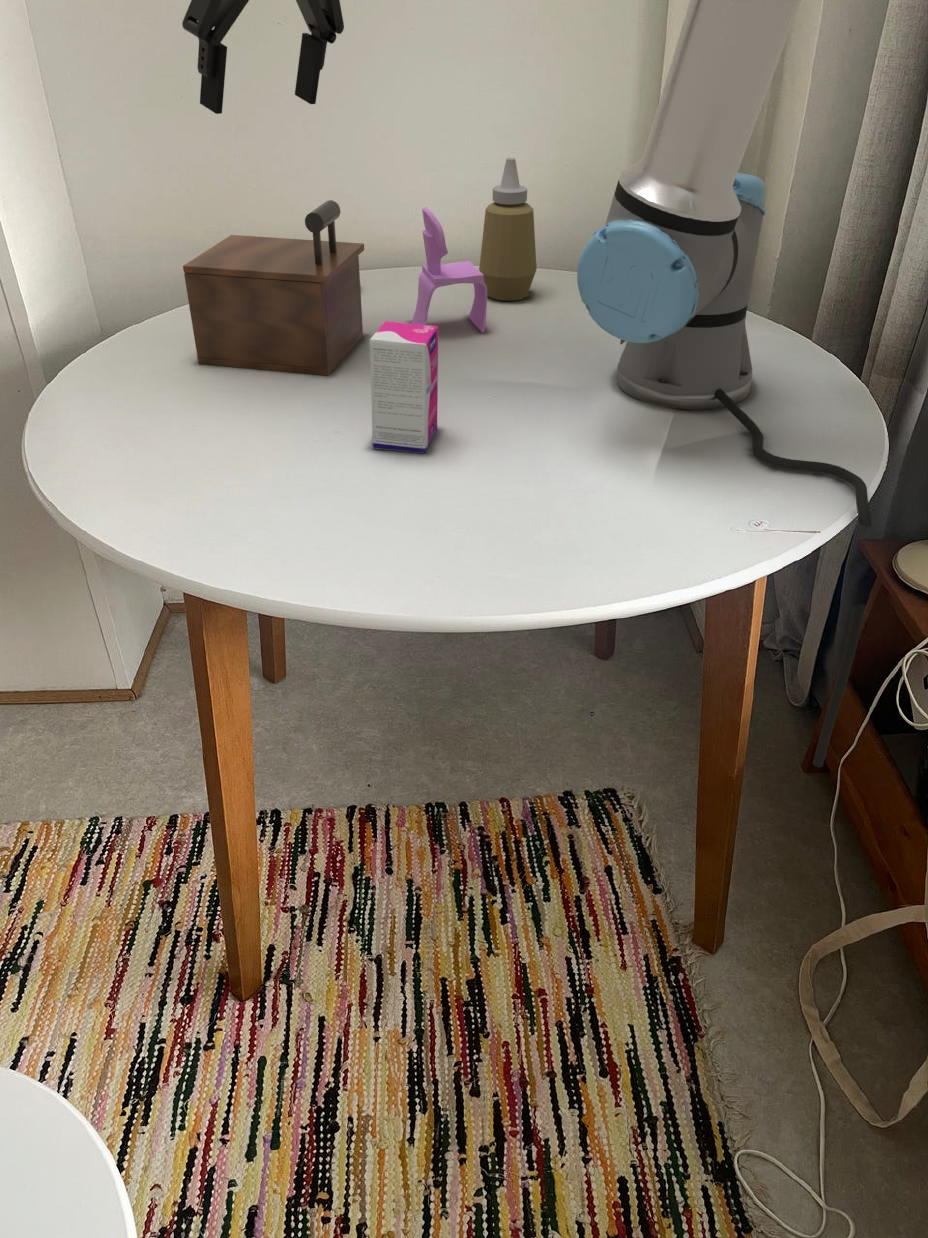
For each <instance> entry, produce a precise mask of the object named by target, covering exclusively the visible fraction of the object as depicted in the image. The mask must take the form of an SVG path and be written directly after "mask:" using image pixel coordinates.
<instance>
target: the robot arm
mask: <svg viewBox="0 0 928 1238" xmlns="http://www.w3.org/2000/svg"><path fill="white" fill-rule="evenodd" d="M801 1H802V0H689V2H688V6H687V9H686V13H685V16H684V20H683V21H682V22H683V23H682V26H681V29H680V31H679V36H678V39H677V42H676V45H675V48H674V52H673V56H672V59H671V61H670V65H669V69H668V72H667V76H666V78H665V82H664V84H663V88H662V92H661V95H660V97H659V102H658V105H657V108H656V112H655V114H654V118H653V121H652V125H651V127H650V131H649V134H648V138H647V141H646V144H645V147H644V151H643V154H642V157H641V158H640V159H639V160H638V161H637V162H635V163H634V164H632V165H630V166H628V167H626V168H625V169H623V170H622V171H621V173H620V175H619V177H618V180H617V183H616V186H615V191H614V193H613V197H612V200H611V203H610V207H609V209H608V213H607V217H606V220H605V223H604V225H602V226H601V227H599V228H597V229H596V230H595V231H594V232H593V233H592V235H591V237H590V239H588V240H587V242H586V244H585V245H584V247H583V249H582V251H581V253H580V256H579V258H578V263H577V268H576V281H577V288H578V293H579V296H580V300H581V302H582V303H583V304H584V306H585V308H586V310H587V311H588V315H589V316H590V317H591V319H592V320H593V321H594V323H595V324H596V325H598V326H599V327H600V328H601V329H602V330H603V331H605V332H606V333H608V334H609V335H611V336H612V337H614V338H616V339H618V340H620V342H619V343H620V344H619V345H623V344H624V343H625V346H624V348H623V350H622V353H621V354H620V358H619V360H618V363H617V372H616V382H617V385H618V387H619V388H620V389H621V390H622V391H623V392H625V393H626V394H628V395H629V396H631V397H633V398H635V399H637V400H639V401H641V402H645V403H648V404H650V405H655V406H660V407H664V408H670V409H671V408H672V409H678V410H679V409H680V410H709V409H718V408H723V407H725V408H726V409H727V410H728V411H729V412H730V413H731V415H732V416H733V417H734V418H736V420H737V421H738V422H739V423H740V424H741V425H742V426H743V427H744V428H745V429H746V430H747V431H748V433H749V434H750V435H751V437H752V442H753V444H752V451H753V453H754V455H755V456H756V457H757V458H758V460H760V461H761V462H763V463H765V464H768V465H770V466H773V467H776V468H781V469H786V470H791V471H793V470H794V471H801V472H802V471H803V472H811V473H812V472H813V473H820V474H827V475H831V476H833V477H836V478H838V479H840V480H842V481H844V482H846V483H847V484H848V485H850V486H852V487H853V488H854V492H855V501H856V511H857V516H858V522H859V524H860V525H861V526H863V527H866V528H869V527H871V526H872V518H871V517H872V516H871V512H870V505H869V497H868V496H869V495H868V487H867V485H866V483H865V482H864V480H863V479H862V478H861V477H860V476H858V475H857V474H855V473H854V472H852V471H850V470H848V469H846V468H844V467H841V466H838V465H835V464H832V463H827V462H822V461H821V462H820V461H815V460H814V461H813V460H801V459H793V458H786V457H781V456H778V455H775V454H772V453H770V452H768V451H767V450H766V449H764V436H763V433H762V431H761V429H760V427H758V425H757V424H756V422H754V421H753V420H752V418H751V417H750V416H748V414H746V412H744V410H743V409H741V408H740V406H739V405H738V404H736V403H738V402H741V401H743V400H744V399H745V398H747V396H749V394H750V392H751V387H752V381H753V366H752V359H751V352H750V346H749V340H748V333H747V328H746V318H747V311H748V307H749V306H748V305H749V301H750V295H751V288H752V283H753V277H754V271H755V267H756V266H755V265H756V259H757V254H758V247H759V243H760V242H759V241H760V237H761V232H762V231H761V229H762V225H763V219H764V216H765V214H766V210H767V209H766V207H765V206H766V195H767V186H766V184H765V181H764V180H763V179H762V178H760V177H758V176H756V175H754V174H748V173H744V172H739V170H740V167H741V164H742V162H743V158H744V156H745V153H746V151H747V148H748V145H749V142H750V141H751V137H752V134H753V132H754V129H755V126H756V123H757V121H758V119H759V116H760V113H761V110H762V107H763V104H764V103H765V99H766V97H767V94H768V91H769V88H770V86H771V83H772V80H773V77H774V75H775V72H776V69H777V67H778V65H779V61H780V59H781V56H782V53H783V51H784V47H785V45H786V43H787V41H788V40H787V39H788V37H789V34H790V32H791V28H792V25H793V23H794V20H795V18H796V15H797V12H798V10H799V8H800V4H801ZM249 2H250V0H191V1H190V3H189V5H188V8H187V10H186V12H185V15H184V17H183V20H182V22H181V23H182V24H181V26H182V29H183V30H184V31H186V32H188V33H190V34H191V35H193V36H194V37H196V38H197V39H198V52H197V66H196V67H197V71H198V73H199V74H201V76H200V78H201V79H200V94H199V104H200V105H201V106H203V107H205V109H208V110H209V111H210V112H213V113H214V114H216V115H219V114H220V115H221V114H223V105H224V93H225V79H226V67H227V55H228V46H226V45H225V44H224V43H222V41H223V40H224V38H225V37H226V36H227V34H228V32H229V31H230V29H231V28H232V26H233V25H234V23H235V22H236V21H237V19H238V18H239V16H241V15H240V14H241V13H242V12H243V10H244V9H245V7H246V6H247V5H248V3H249ZM295 2H296V4H297V6H298V8H299V11H300V13H301V15H302V17H303V20H304V22H305V24H306V26H307V29H308V31H309V32H310V33H308V32H302V33H301V42H300V50H299V56H298V65H297V73H296V81H295V88H294V96H296V97H298V98H299V99H301V100H302V101H304V102H306V103H308V104H309V105H316V104H317V98H318V97H317V95H318V89H319V81H320V76H321V75H320V74H321V70H323V69H324V66H325V60H326V54H327V53H326V52H327V47H328V46H327V45H328V43H329V44H334V43H335V42H336V40H337V34H338V35H340V34H343V32H344V30H345V23H344V18H343V11H342V6H341V1H340V0H295ZM865 606H866V604H857V605H853V606H852V613H851V617H850V623H849V627H848V632H847V637H846V642H845V646H844V650H843V654H842V658H841V662H840V666H839V669H838V671H837V672H838V673H837V676H836V679H835V683H834V687H833V690H832V694H831V697H830V700H829V703H828V706H827V710H826V713H825V716H824V721H823V724H822V727H821V730H820V735H819V738H818V742H817V745H816V749H815V753H814V757H813V761H812V765H813V766H814V767H816V768H822V767H823V766H824V762H825V759H826V754H827V751H828V747H829V744H830V739H831V737H832V733H833V729H834V726H835V723H836V720H837V717H838V713H839V710H840V706H841V703H842V701H843V697H844V693H845V690H846V687H847V684H848V680H849V678H850V673H851V670H852V667H853V662H854V660H855V659H854V658H855V655H856V650H857V646H858V642H859V638H860V633H861V628H862V624H863V619H864V613H865Z"/></svg>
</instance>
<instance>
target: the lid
mask: <svg viewBox="0 0 928 1238" xmlns="http://www.w3.org/2000/svg"><path fill="white" fill-rule="evenodd" d="M340 215H341V206H340V205H339V203H337V202H336V201H335V200H332V199H329V200H326V201H325V202H323V203H322V204H320V205H319V206H317V207H316V208H314V209H313V210H312V211H310V212H309V213H307V214H306V216H305V217H304V225H305V228H306V229H307V230H308V231H309V232H310V233H312V239H301V238H287V237H286V238H285V237H271V236H255V235H242V234H241V235H240V234H229V236H227V237H226V238H224V239H222V240H221V241H219V242H218V243H216V244H215V245H213V246H212V247H210V248H208V249H207V250H205V251H203V252H201V254H199V255H197V256H196V257H194V258H193V259H191V260H189V261H188V262H187V263H185V264H183V265H182V269H183V274H184V273H195V274H208V275H222V276H236V277H249V278H263V279H276V280H290V281H304V282H317V283H328V282H330V281H331V280H332V279H333V278H334V277H335V276H336V275H337V274H338V273H339V272H341V271H342V270H343V269H344V268H345V267H346V266H347V265H348V264H349V263H351V262H352V261H353V260H354V259H355V258H356V257H357V256H360V254H362V253H363V252H364V251H365V243H360V242H347V241H345V242H344V241H337V236H336V223H335V222H336V220H338V218H339V217H340ZM326 228H327V236H328V240H322V239H321V232H322V231H323V230H324V229H326Z"/></svg>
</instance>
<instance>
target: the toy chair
mask: <svg viewBox="0 0 928 1238" xmlns="http://www.w3.org/2000/svg"><path fill="white" fill-rule="evenodd" d="M421 211H422V217H423V226H424V229H425V230H424V229H423V230H422V231H421V232H422V239H423V245H424V252H425V259H426V264H425V263H424V264H421V273H419V276H418V282H417V283H418V284H417V285H418V286H417V301H416V306H415V310H414V313H413V315H412V320H411V323H410V324H419V325H428V315H429V309H430V304H431V301H432V298H433V295H434V292H435V290H437V289H439V288H441V287H447V286H452V285H459V284H473V289H474V297H473V303H472V306H471V309H470V312H469V314H468V319H469V320H470V321H471V322H472V323H473V324H474V326H475V327H476V328H477V329H478V330H479V331H480V332H481V333H485V332H486V321H487V307H488V295H487V286H486V284H485V283H484V275H483V274H482V273H481V272H480V271H479V269H477V268H476V267H475V265H474V264H473V262H472V261H470V260H464V261H462V260H461V261H456V262H449V263H441V262H442V261H441V260H442V258H444V257H445V256H447V255H448V253H449V251H448V248H447V243H446V238H445V237H446V236H445V232H444V230H443V227H442V225H441V223H440V221H439V219H438V218H437V217H436V216H435V215H434V213H433V212H432V211H431V210H430V209H429V208H428V207H423V208H421Z"/></svg>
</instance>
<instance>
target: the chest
mask: <svg viewBox="0 0 928 1238" xmlns="http://www.w3.org/2000/svg"><path fill="white" fill-rule="evenodd" d="M359 257H360V255H358V256H357V257H356V258H355V259H354V260H353V261H352V262H351V263H349V264H348V265H347V266H346V267H345V268H344V269H343V270H342V271H341V272H339V273H338V274H337V275H336V276H335V277H334V278H333V279H332V280H331V281H330V282H328V283H317V282H304V281H290V280H276V279H263V278H249V277H236V276H222V275H208V274H195V273H184V272H183V276H184V281H185V288H186V294H187V295H186V296H187V301H188V308H189V313H190V319H191V326H192V332H193V338H194V345H195V350H196V357H197V364H199V365H208V366H209V365H210V366H220V367H232V368H241V369H252V370H262V371H263V370H265V371H273V372H274V371H275V372H284V373H285V372H286V373H294V374H295V373H296V374H297V373H298V374H306V375H319V376H330V374H331V373H332V372H334V370H335V369H336V368H337V367H338V366H339V364H340V363H341V362H342V361H343V360H344V358H346V356H347V355H348V354H350V352H351V351H352V349H353V348H354V347H355V346H356V345H357V344H358V343H359V342H360V340H361V339H362V338H363V337H364V327H363V310H362V293H361V276H360V274H361V273H360V259H359Z"/></svg>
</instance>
